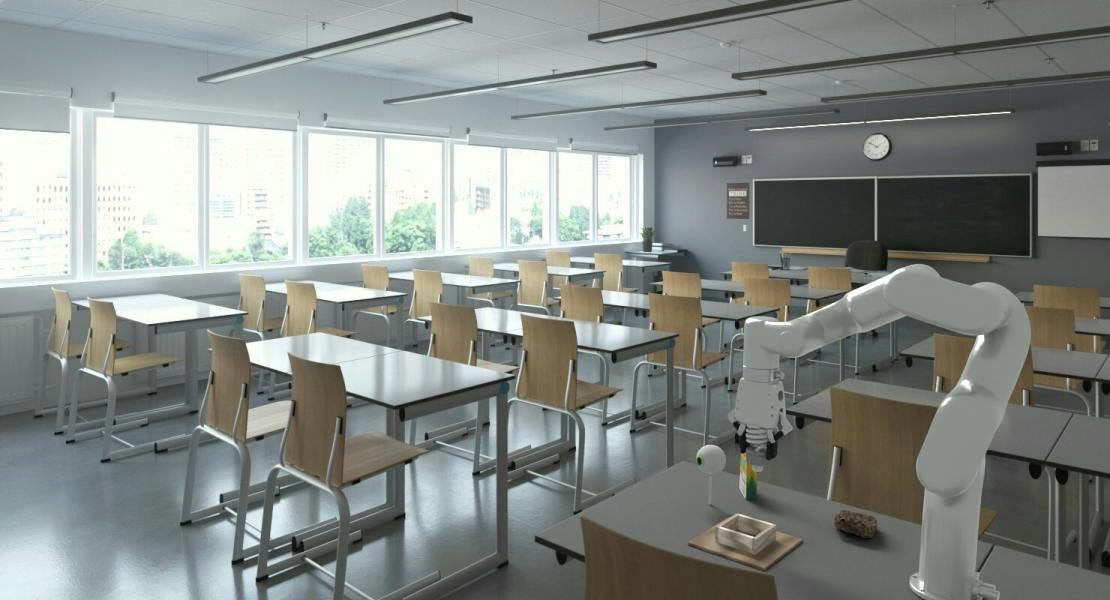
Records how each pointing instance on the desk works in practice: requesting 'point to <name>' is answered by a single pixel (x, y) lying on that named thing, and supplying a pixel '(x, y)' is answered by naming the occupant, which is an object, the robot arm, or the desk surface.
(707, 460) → the lollipop
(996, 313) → the robot arm
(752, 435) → the light bulb
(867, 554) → the desk surface
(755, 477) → the crayon box
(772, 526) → the wooden box on board
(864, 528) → the concrete sample
